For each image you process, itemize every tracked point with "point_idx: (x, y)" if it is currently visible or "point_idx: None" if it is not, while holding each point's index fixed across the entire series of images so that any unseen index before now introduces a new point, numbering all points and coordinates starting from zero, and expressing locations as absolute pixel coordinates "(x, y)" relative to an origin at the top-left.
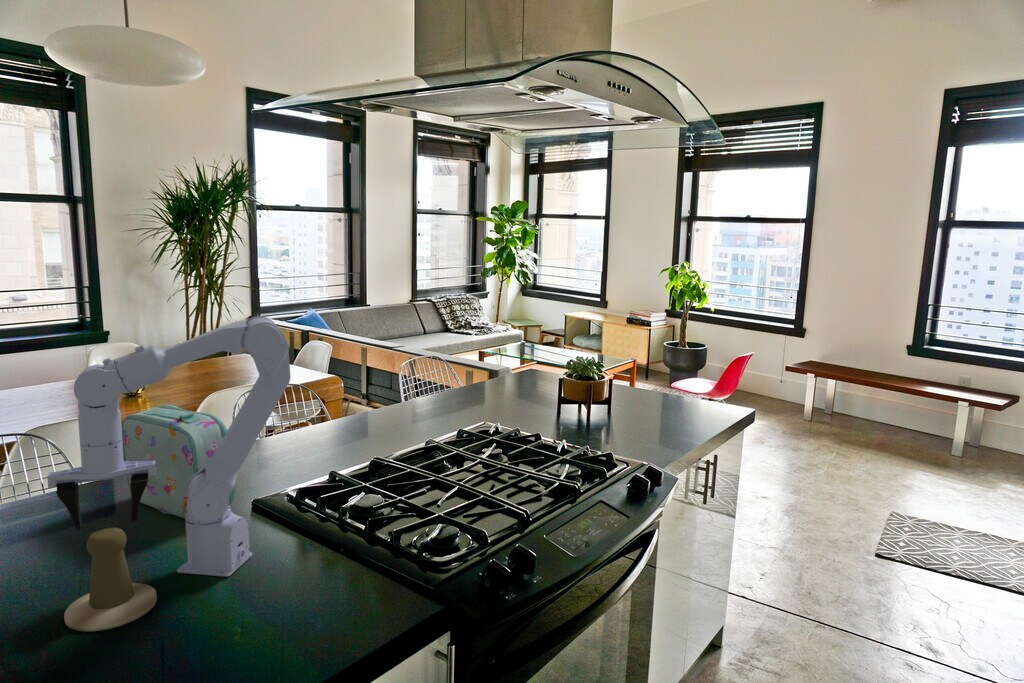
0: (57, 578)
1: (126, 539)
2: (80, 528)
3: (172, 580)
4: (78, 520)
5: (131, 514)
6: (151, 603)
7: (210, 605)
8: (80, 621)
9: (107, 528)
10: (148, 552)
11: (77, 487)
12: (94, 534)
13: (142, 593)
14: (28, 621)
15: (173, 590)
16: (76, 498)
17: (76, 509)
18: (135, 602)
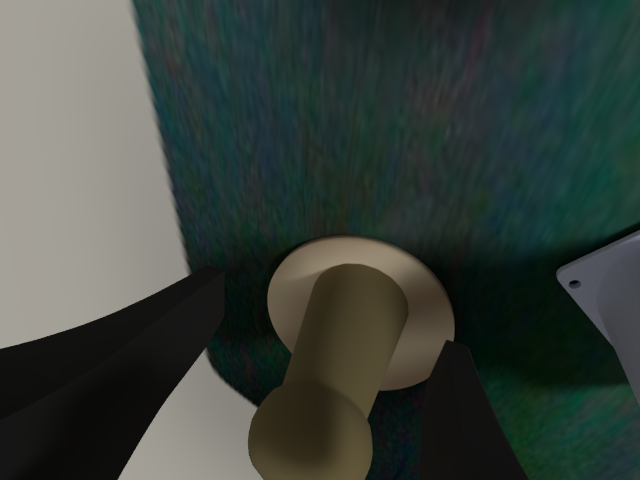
0: (249, 47)
1: (372, 453)
2: (223, 317)
3: (522, 295)
4: (196, 354)
5: (421, 423)
6: (425, 379)
7: (529, 440)
8: (293, 342)
9: (303, 466)
10: (567, 14)
11: (57, 451)
12: (261, 466)
13: (423, 331)
14: (211, 247)
15: (498, 340)
16: (112, 462)
17: (154, 411)
18: (398, 354)
